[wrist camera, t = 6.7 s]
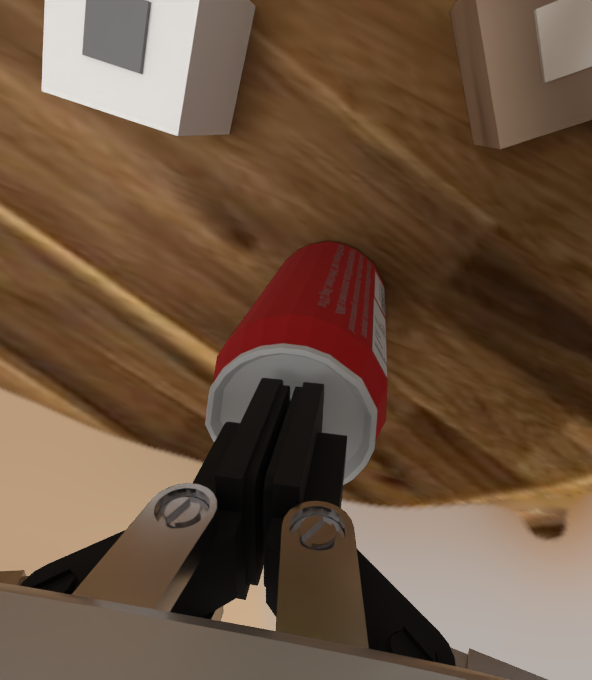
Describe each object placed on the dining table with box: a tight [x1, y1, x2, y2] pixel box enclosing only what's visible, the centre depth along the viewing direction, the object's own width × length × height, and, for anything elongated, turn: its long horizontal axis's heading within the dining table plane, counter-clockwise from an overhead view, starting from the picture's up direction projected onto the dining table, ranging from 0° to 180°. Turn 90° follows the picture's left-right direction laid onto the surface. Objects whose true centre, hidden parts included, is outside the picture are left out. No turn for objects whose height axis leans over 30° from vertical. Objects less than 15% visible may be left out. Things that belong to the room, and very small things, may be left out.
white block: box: [42, 0, 256, 136], centre depth 18 cm, size 5×5×6 cm
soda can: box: [205, 242, 387, 485], centre depth 18 cm, size 6×6×12 cm
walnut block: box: [450, 0, 592, 149], centre depth 16 cm, size 5×5×5 cm
